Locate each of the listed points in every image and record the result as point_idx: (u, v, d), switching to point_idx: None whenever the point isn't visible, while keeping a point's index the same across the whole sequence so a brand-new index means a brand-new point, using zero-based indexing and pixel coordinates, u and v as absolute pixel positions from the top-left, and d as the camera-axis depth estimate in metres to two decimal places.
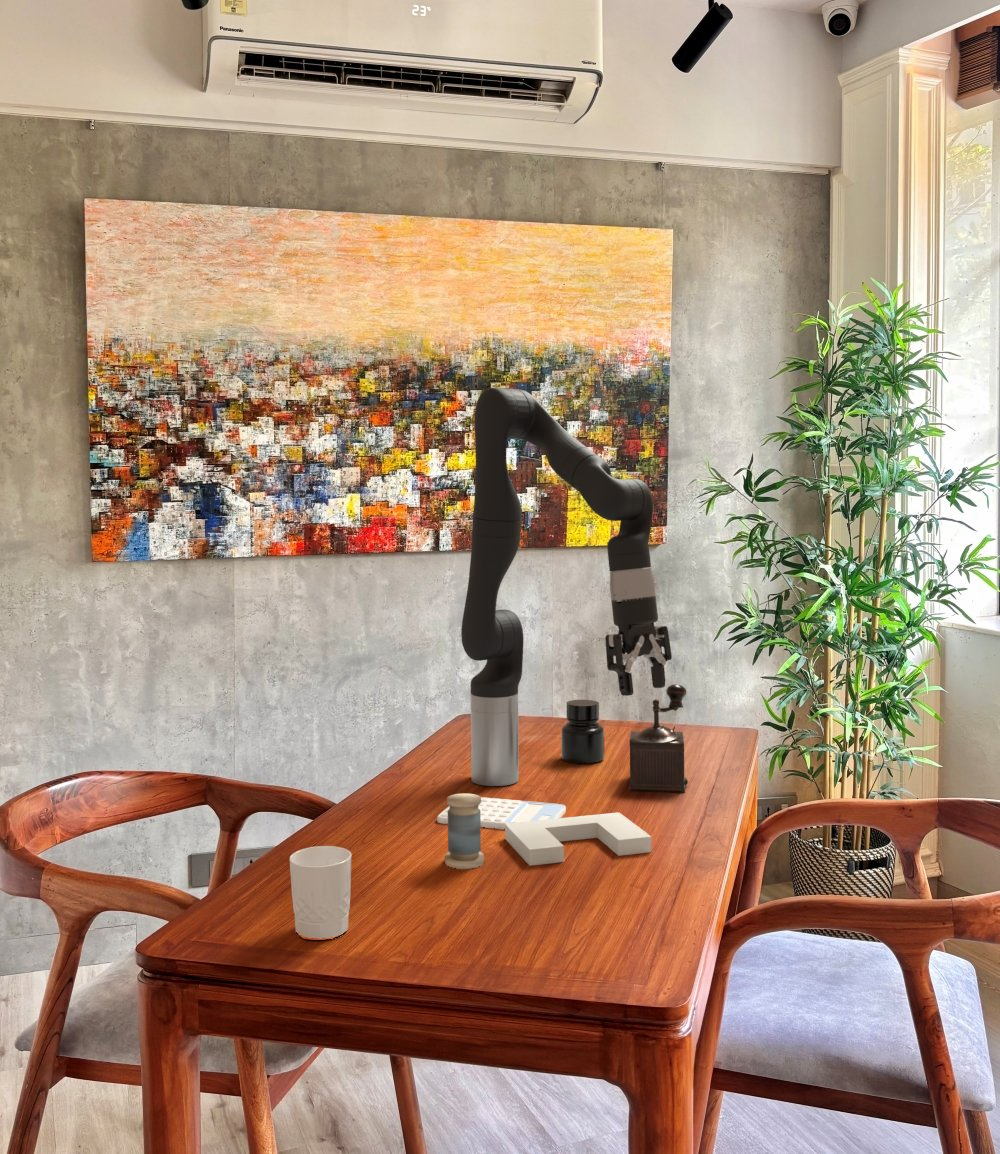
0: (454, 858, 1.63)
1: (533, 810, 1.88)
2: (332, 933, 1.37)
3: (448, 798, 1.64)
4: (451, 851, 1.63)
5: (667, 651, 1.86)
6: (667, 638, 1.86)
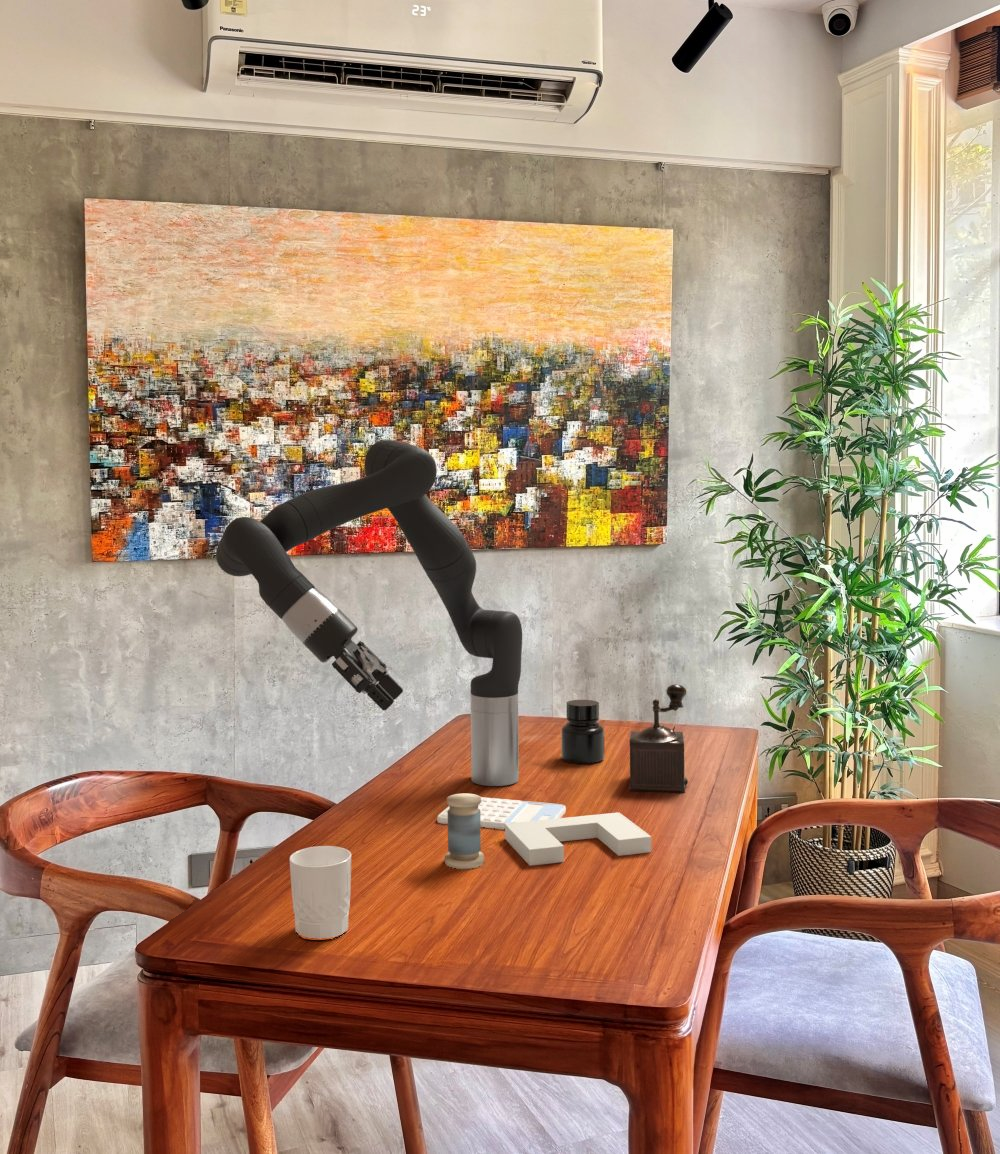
0: (454, 858, 1.63)
1: (533, 810, 1.88)
2: (332, 933, 1.37)
3: (448, 798, 1.64)
4: (451, 851, 1.63)
5: None
6: (342, 674, 1.57)
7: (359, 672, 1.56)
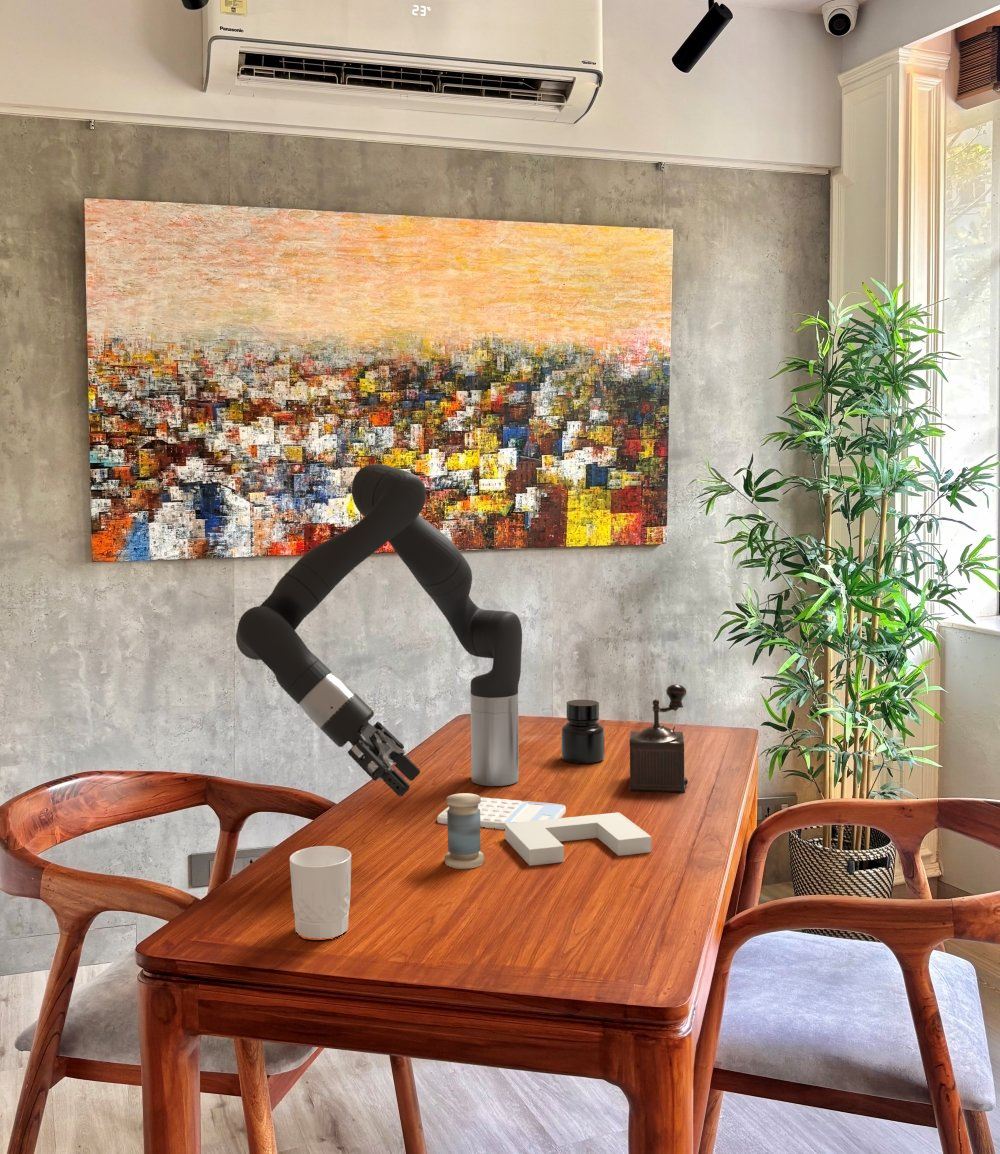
0: (454, 858, 1.63)
1: (533, 810, 1.88)
2: (332, 933, 1.37)
3: (448, 798, 1.64)
4: (451, 851, 1.63)
5: None
6: None
7: (375, 760, 1.58)
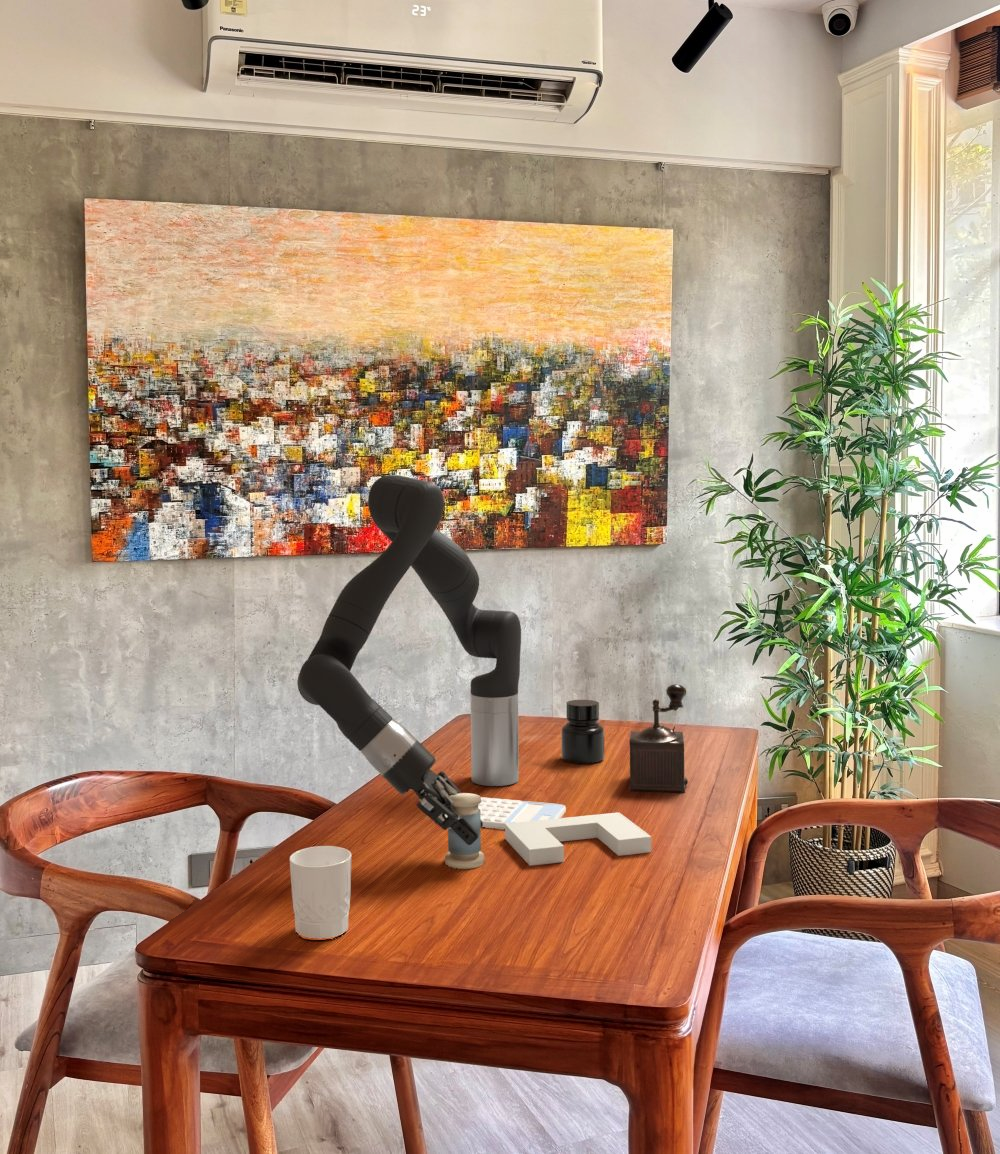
0: (454, 858, 1.63)
1: (533, 810, 1.88)
2: (332, 933, 1.37)
3: None
4: (451, 851, 1.63)
5: None
6: None
7: (445, 812, 1.58)
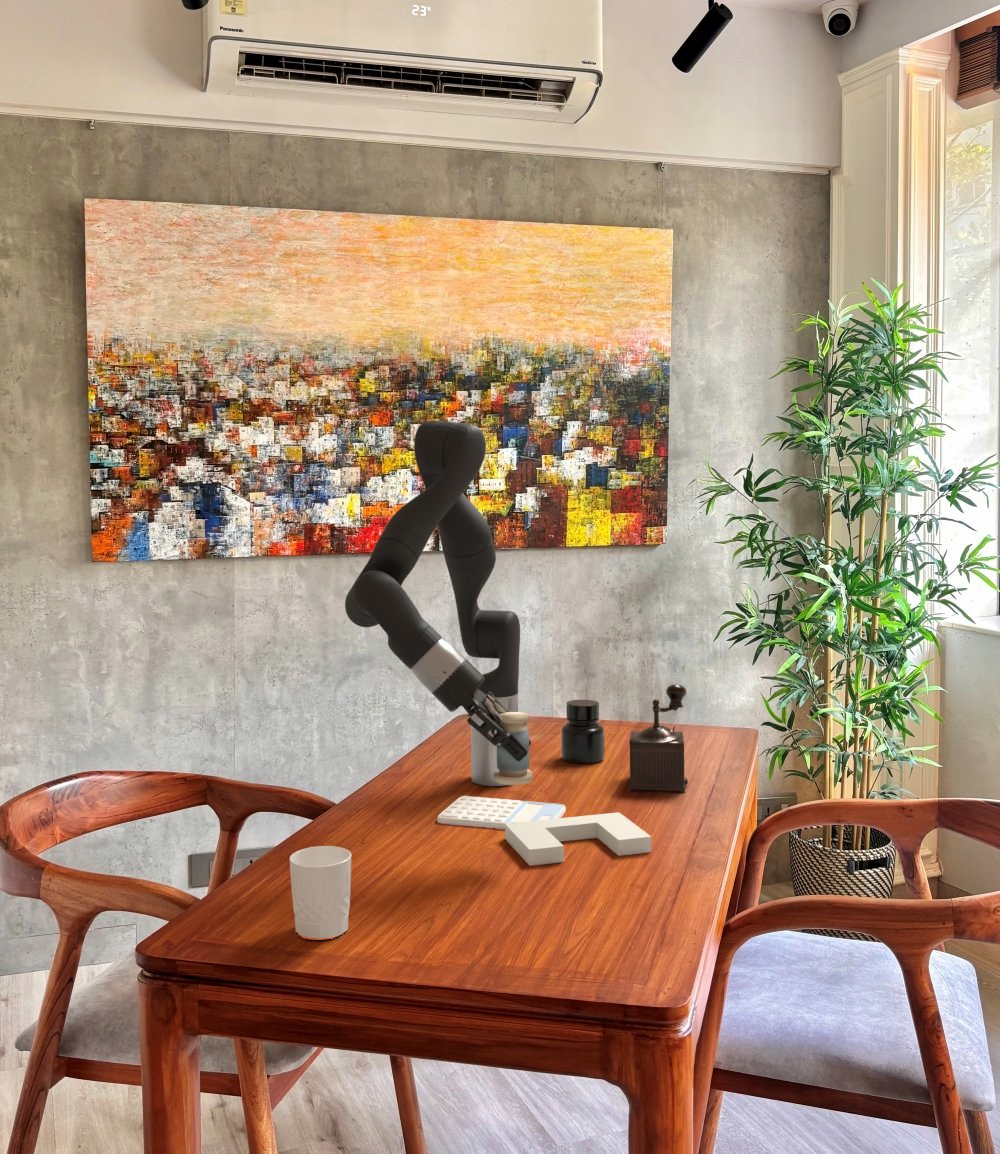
0: (503, 775, 1.65)
1: (533, 810, 1.88)
2: (332, 933, 1.37)
3: None
4: (500, 768, 1.65)
5: None
6: None
7: (495, 727, 1.60)
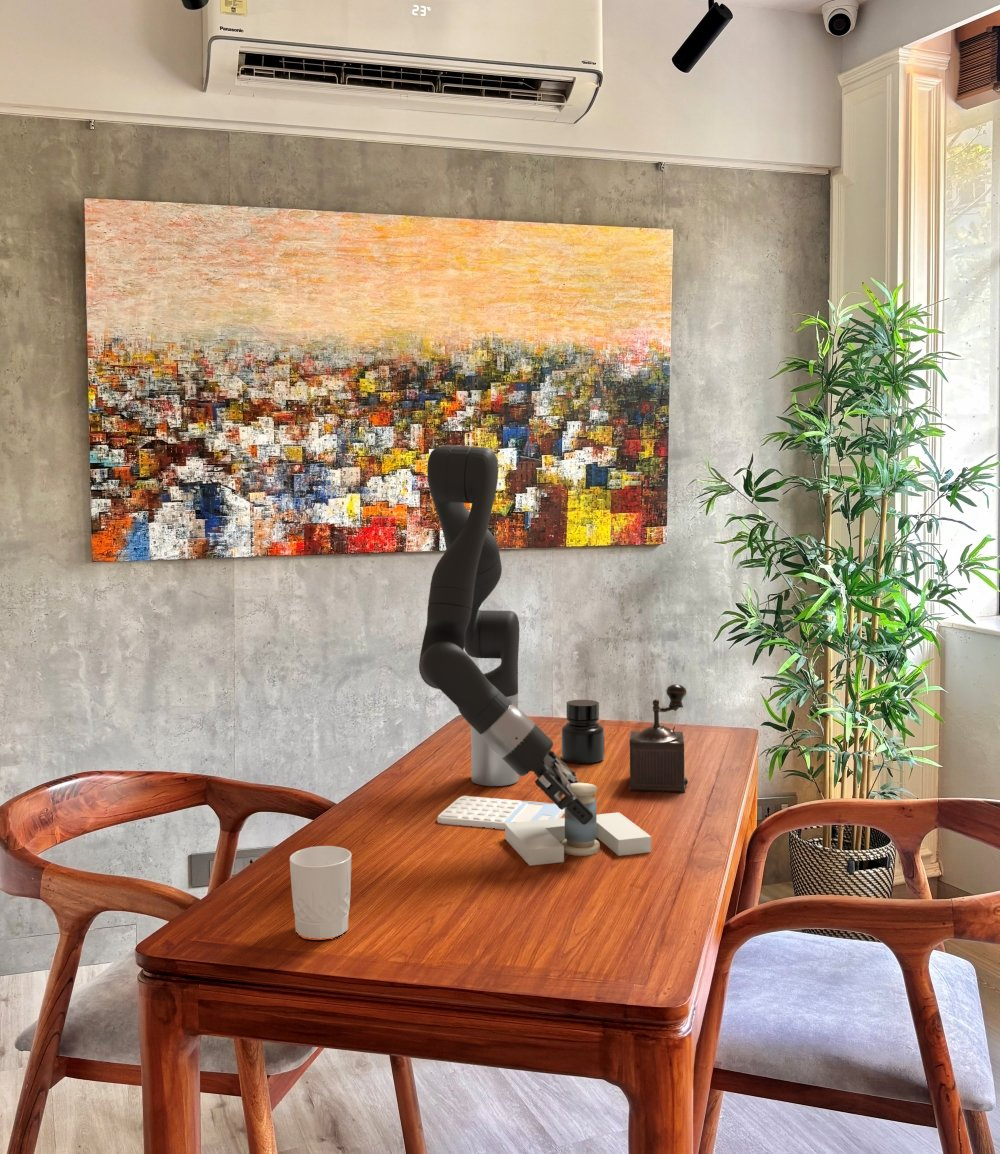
0: (572, 845, 1.68)
1: (533, 810, 1.88)
2: (332, 933, 1.37)
3: None
4: (569, 838, 1.68)
5: None
6: None
7: (562, 790, 1.62)
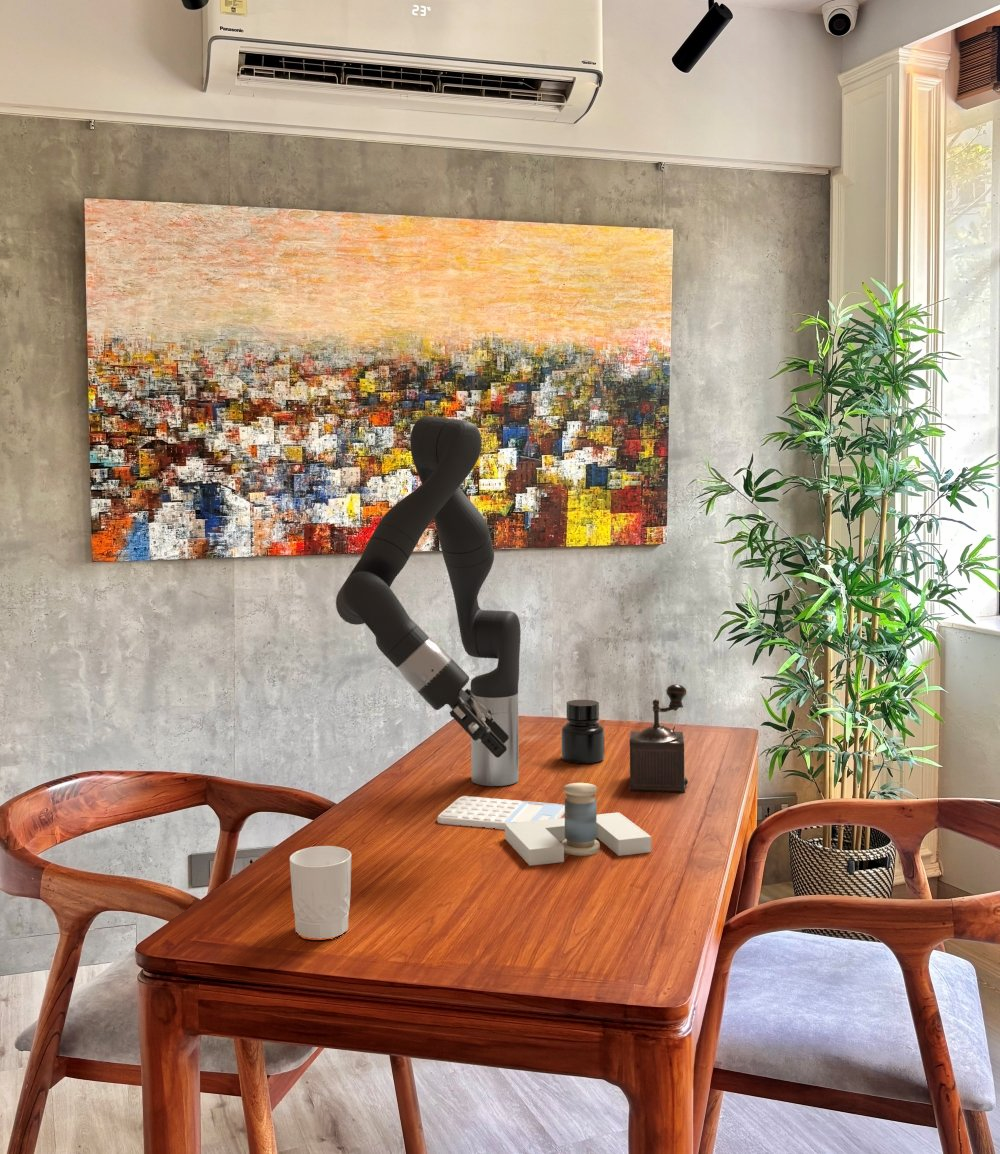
0: (572, 845, 1.68)
1: (533, 810, 1.88)
2: (332, 933, 1.37)
3: (565, 787, 1.69)
4: (569, 838, 1.68)
5: None
6: (459, 723, 1.64)
7: (476, 721, 1.63)
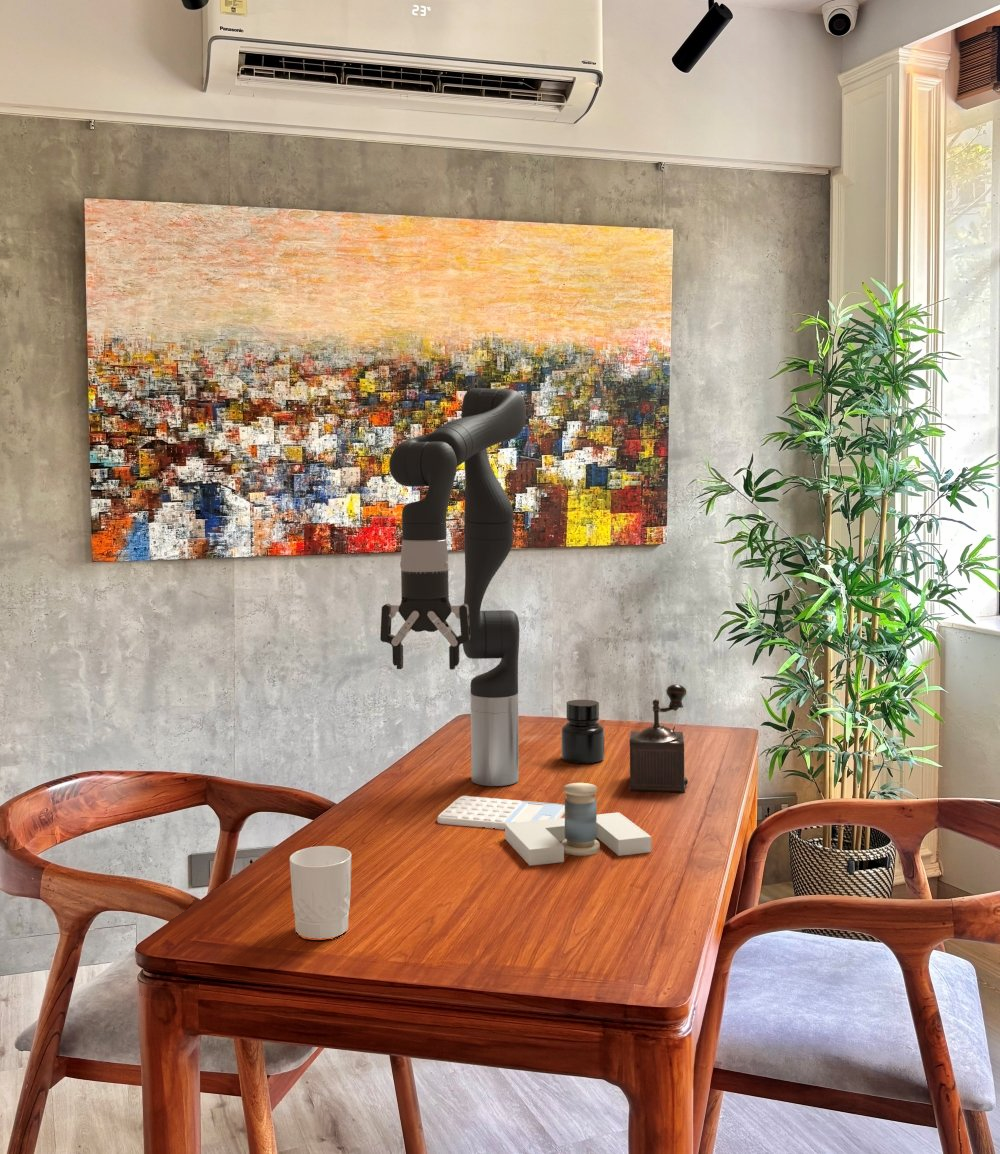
0: (572, 845, 1.68)
1: (533, 810, 1.88)
2: (332, 933, 1.37)
3: (565, 787, 1.69)
4: (569, 838, 1.68)
5: (462, 632, 1.71)
6: (464, 618, 1.70)
7: (469, 626, 1.73)
